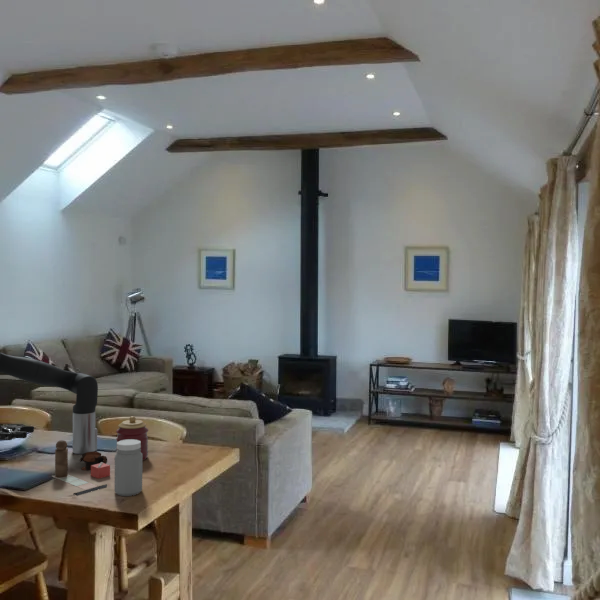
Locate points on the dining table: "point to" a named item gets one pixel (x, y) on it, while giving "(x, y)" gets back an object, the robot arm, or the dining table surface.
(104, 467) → the red die
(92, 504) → the dining table surface
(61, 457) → the walnut pawn
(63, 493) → the dining table surface
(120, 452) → the jar
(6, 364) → the robot arm
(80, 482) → the game board
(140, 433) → the canister
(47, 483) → the dining table surface
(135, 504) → the dining table surface
